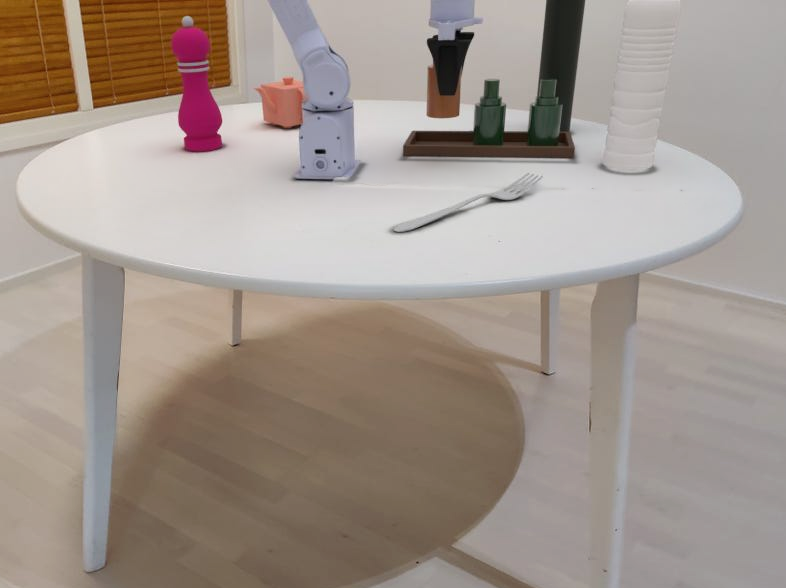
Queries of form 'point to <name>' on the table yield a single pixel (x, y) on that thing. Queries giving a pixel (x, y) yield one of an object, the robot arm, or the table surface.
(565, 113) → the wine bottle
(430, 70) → the amber bottle
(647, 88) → the water bottle
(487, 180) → the table surface
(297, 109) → the teapot
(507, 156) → the tray
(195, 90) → the pepper mill
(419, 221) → the fork
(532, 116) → the green bottle
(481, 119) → the green bottle
